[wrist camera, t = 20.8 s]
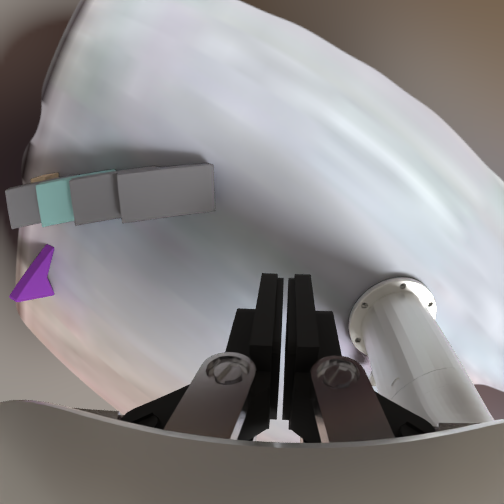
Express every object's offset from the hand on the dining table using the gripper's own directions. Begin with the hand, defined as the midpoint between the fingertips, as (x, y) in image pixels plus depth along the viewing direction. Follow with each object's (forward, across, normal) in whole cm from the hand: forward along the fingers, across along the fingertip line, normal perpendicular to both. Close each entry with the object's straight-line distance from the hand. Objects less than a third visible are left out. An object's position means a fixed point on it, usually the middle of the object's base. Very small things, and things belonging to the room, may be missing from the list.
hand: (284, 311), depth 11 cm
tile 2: (+24, +14, 0) cm, 28 cm away
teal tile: (+24, +20, 0) cm, 31 cm away
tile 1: (+24, +26, 0) cm, 35 cm away
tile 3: (+24, +8, 0) cm, 25 cm away
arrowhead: (+25, +36, +12) cm, 46 cm away
